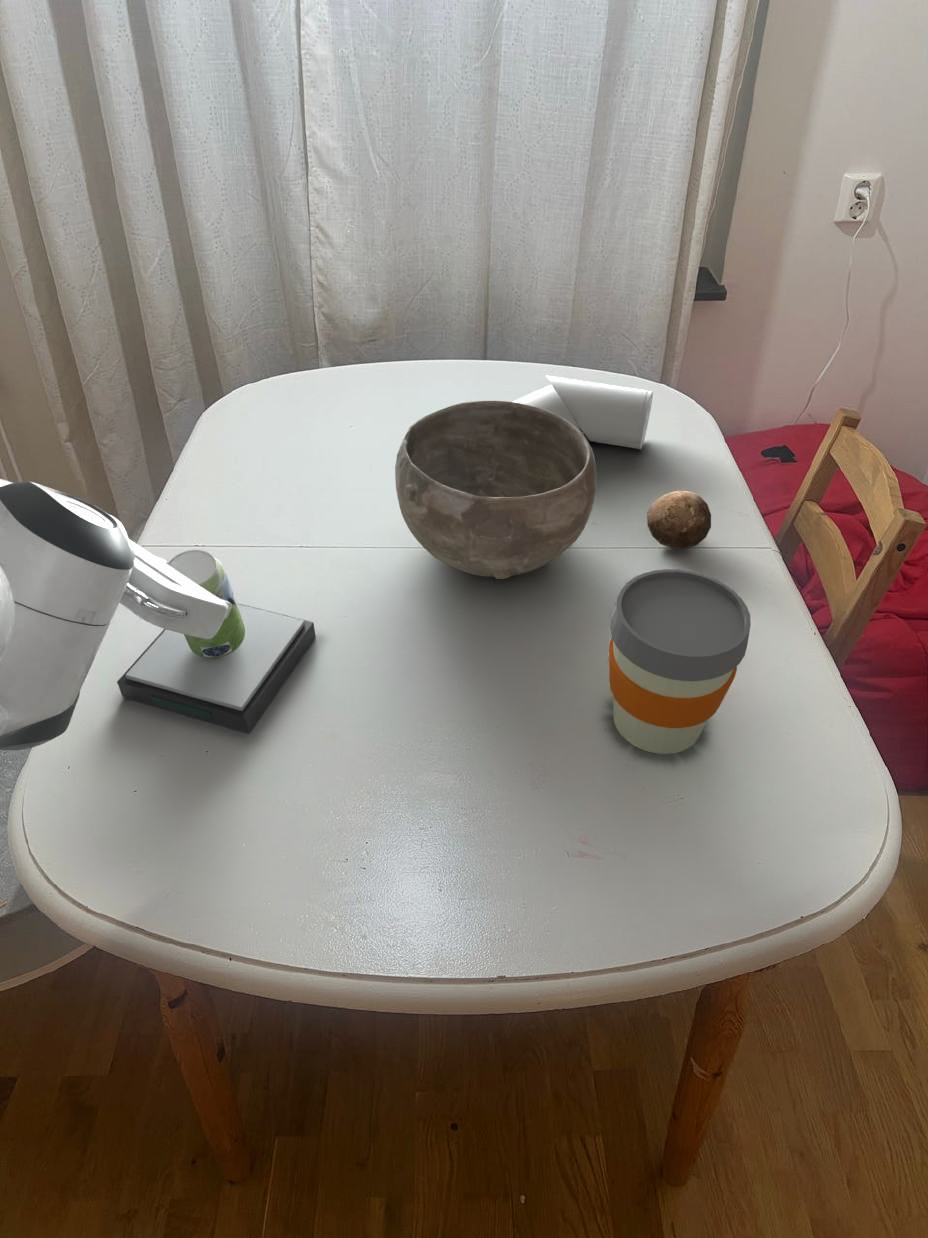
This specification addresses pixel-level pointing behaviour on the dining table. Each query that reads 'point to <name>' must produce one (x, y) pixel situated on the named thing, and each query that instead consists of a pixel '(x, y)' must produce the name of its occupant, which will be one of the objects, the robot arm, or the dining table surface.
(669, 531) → the brown potato
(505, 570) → the bowl
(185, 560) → the beverage can
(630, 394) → the elbow connector
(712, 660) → the reusable coffee cup
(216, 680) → the kitchen scale
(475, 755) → the dining table surface
